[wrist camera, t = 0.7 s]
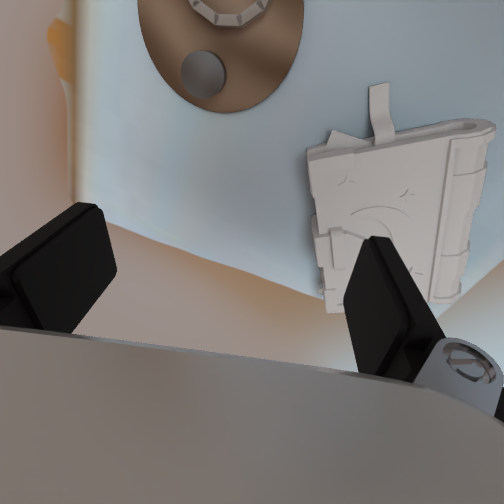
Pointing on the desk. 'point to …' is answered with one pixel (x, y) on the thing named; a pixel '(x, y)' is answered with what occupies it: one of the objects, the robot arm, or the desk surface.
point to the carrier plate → (222, 47)
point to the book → (398, 198)
